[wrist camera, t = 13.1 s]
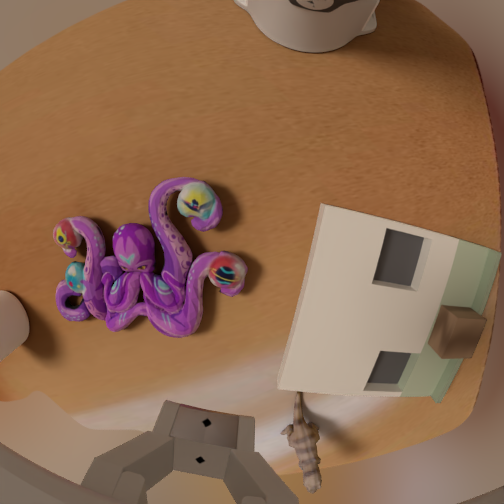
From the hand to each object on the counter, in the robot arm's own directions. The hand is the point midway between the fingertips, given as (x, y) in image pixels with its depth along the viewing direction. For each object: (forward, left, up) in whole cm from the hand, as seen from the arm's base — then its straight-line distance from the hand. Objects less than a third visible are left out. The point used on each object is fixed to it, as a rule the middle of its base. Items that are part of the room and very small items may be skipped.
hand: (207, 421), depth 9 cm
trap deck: (+6, +21, -29) cm, 37 cm away
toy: (+26, +13, -29) cm, 41 cm away
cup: (+20, -38, -29) cm, 52 cm away
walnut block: (+6, +31, -27) cm, 41 cm away
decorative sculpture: (+5, -13, -30) cm, 33 cm away
